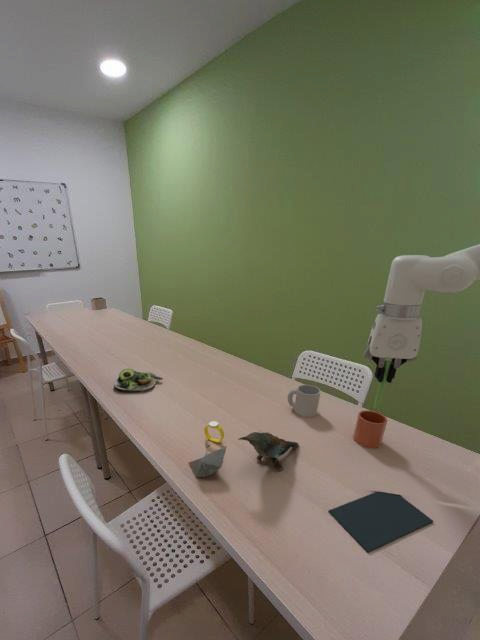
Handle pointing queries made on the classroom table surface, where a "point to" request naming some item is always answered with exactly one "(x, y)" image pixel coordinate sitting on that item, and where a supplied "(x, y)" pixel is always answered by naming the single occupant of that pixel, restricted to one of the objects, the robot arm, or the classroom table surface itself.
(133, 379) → the salad plate
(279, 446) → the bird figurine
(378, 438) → the tumbler
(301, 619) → the classroom table surface
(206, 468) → the paper boat
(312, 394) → the cup
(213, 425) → the gold diamond ring
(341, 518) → the mat
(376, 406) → the green square stick
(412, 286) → the robot arm
